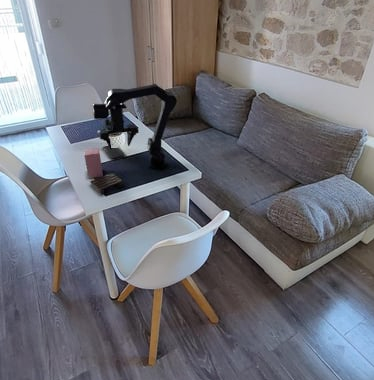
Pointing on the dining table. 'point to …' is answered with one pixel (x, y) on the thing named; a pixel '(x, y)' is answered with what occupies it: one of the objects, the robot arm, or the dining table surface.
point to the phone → (113, 152)
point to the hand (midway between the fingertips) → (119, 147)
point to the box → (93, 162)
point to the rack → (110, 178)
